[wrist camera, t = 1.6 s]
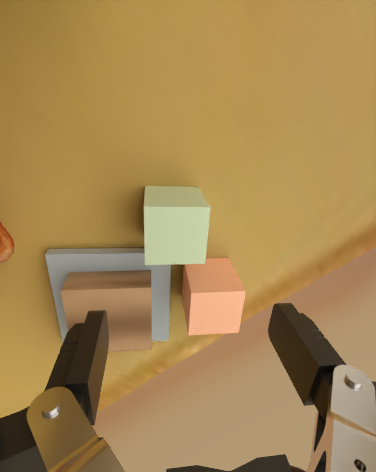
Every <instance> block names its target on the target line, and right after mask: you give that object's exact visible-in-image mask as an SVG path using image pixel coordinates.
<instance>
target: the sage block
mask: <svg viewBox="0 0 376 472" xmlns="http://www.w3.org/2000/svg"><path fill="white" fill-rule="evenodd" d="M209 217H210V206H209V204H208V202H207V201H206V199H205V198H204V196H203V194H202V193H201V191H200V189H199V188H198V187H181V186H145V196H144V244H145V265H172V264H205V260H206V250H207V239H208V228H209Z"/></svg>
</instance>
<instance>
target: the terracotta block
mask: <svg viewBox="0 0 376 472" xmlns="http://www.w3.org/2000/svg"><path fill="white" fill-rule="evenodd" d="M245 293H246V291H245V289H244V287H243V285H242V283H241V281H240V279H239V277H238V275H237V274H236V272H235V270H234V268H233V266H232V264H231V262H230V260H229V258H218V259H206V260H205V264H184V265H183V284H182V300H183V306H184V312H185V318H186V324H187V330H188V335H203V334H220V333H236V332H239V327H240V321H241V315H242V310H243V304H244V298H245Z"/></svg>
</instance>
